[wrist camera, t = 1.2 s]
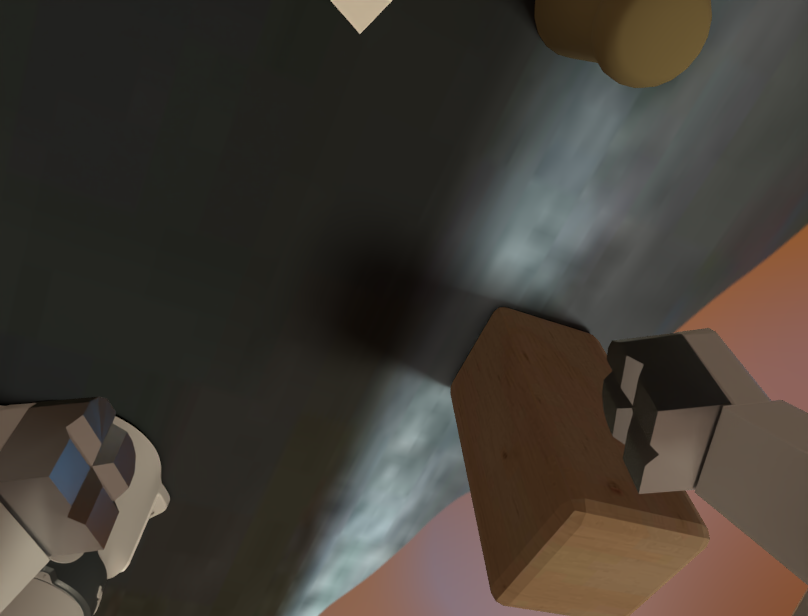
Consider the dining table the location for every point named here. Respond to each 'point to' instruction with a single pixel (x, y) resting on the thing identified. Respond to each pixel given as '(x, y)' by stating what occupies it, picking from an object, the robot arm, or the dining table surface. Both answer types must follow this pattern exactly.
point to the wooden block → (560, 477)
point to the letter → (360, 11)
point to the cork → (627, 35)
